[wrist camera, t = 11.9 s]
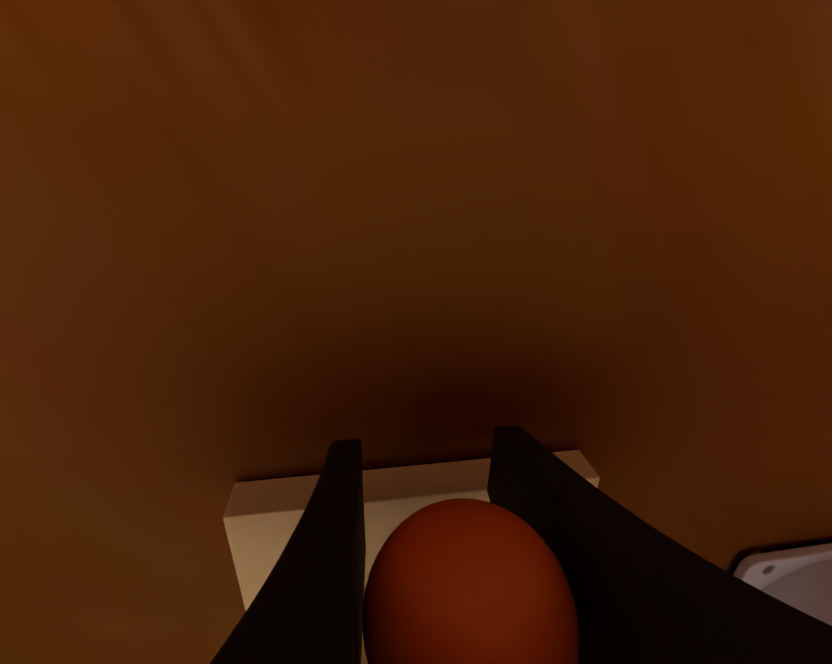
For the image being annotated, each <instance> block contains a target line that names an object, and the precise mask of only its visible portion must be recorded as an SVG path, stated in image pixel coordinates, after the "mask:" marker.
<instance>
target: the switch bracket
mask: <svg viewBox="0 0 832 664" xmlns="http://www.w3.org/2000/svg"><path fill="white" fill-rule="evenodd" d="M552 453H553V454H554V455H556V456H557V457H558V458H559V459H561V460H562V461H563V462H564V463H566V464H567V465H568V466H569V467H571V468H572V469H573V470H574V471H576V472H577V473H578V474H580V475H581V476H582V477H583V478H585V479H586V480H587V481H589V482H590V483H591V484H592V485H594V486H595V487H596V488H597V487H598V483H599V480H600V477H599V476H598V474H597V473H596V472H595V470H594V469H593V468H592V467H591V465H590V464H589V463H588V461H587V460H586V459H585V457H584V456H583V455H582V454H581V452H580V451H579V450H570V451H560V452H552ZM490 461H491V458H487V459H476V460H466V461H455V462H445V463H434V464H424V465H414V466H403V467H393V468H382V469H372V470H362V474H363V496H364V517H365V539H366V558H365V582H364V593H365V588H366V584H367V581H368V577H369V574H370V570H371V567H372V565H373V563H374V561H375V558H376V556H377V554H378V553H379V551H380V549H381V547H382V546H383V544H384V542H385V541H386V539H387V538H388V537H389V535H390V534H391V533H392V531H393V530H394V529H395V528H396V527H397V526H398V525H399V524H400V523H401V522H403V521H404V520H405V519H406V518H408V517H409V516H410V515H411V514H413V513H415V512H416V511H418V510H420V509H421V508H423V507H426V506H428V505H430V504H433V503H436V502H439V501H443V500H448V499H455V498H470V499H478V500H482V501H486V502H490V500H489V496H488V493H487V485H488V477H489V469H490ZM319 476H320V475H309V476H299V477H288V478H278V479H268V480H257V481H247V482H237V483H235V484H234V487H233V490H232V493H231V496H230V499H229V502H228V505H227V508H226V511H225V514H224V517H223V521H224V525H225V529H226V533H227V537H228V541H229V545H230V549H231V553H232V557H233V561H234V565H235V569H236V573H237V577H238V582H239V586H240V590H241V594H242V598H243V602H244V606H245V610H246V611H247V609H248V608H249V606H250V605H251V603H252V601H253V600H254V598H255V597H256V595H257V594H258V592H259V591H260V589H261V587H262V586H263V584H264V583H265V581H266V579H267V578H268V576H269V574H270V573H271V571H272V569H273V568H274V566H275V564H276V562H277V561H278V559H279V557H280V556H281V554H282V552H283V550H284V548H285V546H286V544H287V543H288V541H289V539H290V537H291V535H292V533H293V532H294V530H295V528H296V526H297V524H298V522H299V520H300V518H301V516H302V514H303V512H304V510H305V508H306V506H307V503H308V501H309V499H310V497H311V495H312V493H313V491H314V488H315V486H316V484H317V481H318V479H319ZM361 664H368V662H367V658H366V654H365V649H364V640H363V631H362V651H361Z"/></svg>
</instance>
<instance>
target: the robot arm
mask: <svg viewBox="0 0 832 664" xmlns="http://www.w3.org/2000/svg"><path fill="white" fill-rule="evenodd" d="M487 493H488V496H489V500H490V503H493V504H496V505H498V506H501V507H503V508H505V509H507V510H508V511H510V512H512V513H514V514H515V515H517V516H519V517H520V518H521V519H522V520H524V521H525V522H526V523H528V524H529V525H530V526H531V527H532V528H533V529H534V530H535V531H536V532H537V533H538V534H539V535H540V536H541V537H542V538H543V539H544V541H545V542H546V544H547V545H548V546H549V548H550V549H551V550H552V552H553V553H554V555H555V556H556V558H557V560H558V561H559V563H560V565H561V567H562V569H563V571H564V573H565V575H566V577H567V580H568V583H569V585H570V588H571V591H572V595H573V598H574V602H575V606H576V611H577V618H578V628H579V655H578V664H832V543H827V544H821V545H814V546H807V547H800V548H793V549H787V550H780V551H773V552H766V553H760V554H753V555H749V556H747V557H745V558H744V559H742V560H741V561H740V563H739V564H738V566H737V568H736V570H735V572H734V574H733V575H732V574H730V573H728V572H726V571H724V570H723V569H721V568H719V567H717V566H715V565H714V564H712V563H710V562H709V561H707V560H705V559H703V558H702V557H700V556H698V555H697V554H695V553H693V552H692V551H690V550H688V549H687V548H685V547H684V546H682V545H680V544H679V543H677V542H675V541H674V540H672V539H671V538H669V537H667V536H666V535H664V534H663V533H661V532H659V531H658V530H656V529H655V528H653V527H652V526H650V525H649V524H647V523H646V522H644V521H643V520H641V519H640V518H638V517H637V516H635V515H634V514H633V513H631V512H630V511H628V510H627V509H625V508H624V507H623V506H621V505H620V504H618V503H617V502H616V501H614V500H613V499H611V498H610V497H609V496H607V495H606V494H605V493H603V492H602V491H600V490H599V489H598V488H596V487H595V486H594V485H592V484H591V483H590V482H589V481H587V480H586V479H585V478H583V477H582V476H581V475H580V474H578V473H577V472H576V471H574V470H573V469H572V468H571V467H569V466H568V465H567V464H566V463H564V462H563V461H562V460H561V459H559V458H558V457H557V456H556V455H554V454H553V453H552V452H551V451H550V450H548V449H547V448H546V447H545V446H543V445H542V444H541V443H540V442H539V441H537V440H536V439H535V438H534V437H532V436H531V435H530V434H529V433H528V432H526V431H525V430H524V429H522V428H521V427H520V426H518V425H517V426H505V427H495V428H494V436H493V444H492V452H491V461H490V469H489V477H488V485H487ZM365 558H366V539H365V517H364V496H363V474H362V453H361V439H351V440H339V441H334V442H333V443H332V444H331V445H330V446H329V450H328V454H327V457H326V460H325V463H324V466H323V469H322V471H321V474H320V476H319V479H318V481H317V484H316V486H315V488H314V491H313V493H312V495H311V497H310V499H309V501H308V503H307V506H306V508H305V510H304V512H303V514H302V516H301V518H300V520H299V522H298V524H297V526H296V528H295V530H294V532H293V533H292V535H291V537H290V539H289V541H288V543H287V544H286V546H285V548H284V550H283V552H282V554H281V556H280V557H279V559H278V561H277V562H276V564H275V566H274V568H273V569H272V571H271V573H270V574H269V576H268V578H267V579H266V581H265V583H264V584H263V586H262V587H261V589H260V591H259V592H258V594H257V595H256V597H255V598H254V600H253V601H252V603H251V605H250V606H249V608H248V609H247V611H246V612H245V614H244V615H243V617H242V618H241V620H240V621H239V623H238V624H237V625H236V627H235V628H234V630H233V631H232V633H231V634H230V636H229V637H228V638H227V640H226V641H225V643H224V644H223V646H222V647H221V649H220V650H219V652H218V653H217V654H216V656H215V657H214V659H213V660H212V661H211V663H210V664H361V651H362V610H363V600H364V582H365Z"/></svg>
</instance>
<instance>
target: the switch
mask: <svg viewBox="0 0 832 664" xmlns="http://www.w3.org/2000/svg"><path fill="white" fill-rule="evenodd" d="M362 631H363V640H364V649H365V654H366V658H367V662H368V664H578V655H579V628H578V618H577V611H576V606H575V602H574V598H573V595H572V591H571V588H570V585H569V583H568V580H567V577H566V575H565V573H564V571H563V569H562V567H561V565H560V563H559V561H558V560H557V558H556V556H555V555H554V553H553V552H552V550H551V549H550V548H549V546H548V545H547V544H546V542H545V541H544V539H543V538H542V537H541V536H540V535H539V534H538V533H537V532H536V531H535V530H534V529H533V528H532V527H531V526H530V525H529V524H528V523H526V522H525V521H524V520H522V519H521V518H520V517H519V516H517V515H515V514H514V513H512V512H510V511H508V510H507V509H505V508H503V507H501V506H498V505H496V504H493V503H490V502H486V501H482V500H478V499H470V498H455V499H448V500H443V501H439V502H436V503H433V504H430V505H428V506H426V507H423V508H421V509H420V510H418V511H416V512H415V513H413V514H411V515H410V516H409V517H408V518H406V519H405V520H404V521H403V522H401V523H400V524H399V525H398V526H397V527H396V528H395V529H394V530H393V531H392V533H391V534H390V535H389V537H388V538H387V539H386V541H385V542H384V544H383V546H382V547H381V549H380V551H379V553H378V554H377V556H376V558H375V561H374V563H373V565H372V567H371V570H370V574H369V577H368V581H367V584H366V588H365V593H364V600H363V610H362Z"/></svg>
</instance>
